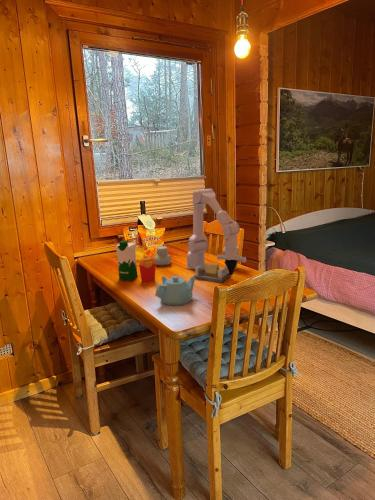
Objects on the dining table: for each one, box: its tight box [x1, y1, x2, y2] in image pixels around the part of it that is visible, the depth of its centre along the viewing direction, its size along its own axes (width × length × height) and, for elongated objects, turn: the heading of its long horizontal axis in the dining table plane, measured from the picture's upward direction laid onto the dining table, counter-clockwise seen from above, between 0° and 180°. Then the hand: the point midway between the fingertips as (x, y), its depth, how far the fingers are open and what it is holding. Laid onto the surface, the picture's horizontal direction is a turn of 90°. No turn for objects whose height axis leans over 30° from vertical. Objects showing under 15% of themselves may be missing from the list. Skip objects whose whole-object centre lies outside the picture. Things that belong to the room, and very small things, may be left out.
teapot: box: [154, 275, 196, 307], centre depth 157 cm, size 15×15×11 cm
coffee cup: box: [222, 245, 240, 271], centre depth 197 cm, size 8×8×12 cm
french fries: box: [138, 256, 157, 284], centre depth 182 cm, size 8×4×12 cm, turn 111°
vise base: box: [192, 262, 232, 284], centre depth 184 cm, size 16×11×6 cm
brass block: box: [205, 262, 220, 277], centre depth 184 cm, size 6×4×6 cm, turn 61°
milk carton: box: [115, 240, 138, 282], centre depth 186 cm, size 9×9×20 cm
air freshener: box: [154, 245, 172, 267], centre depth 209 cm, size 11×8×10 cm
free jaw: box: [218, 265, 229, 278], centre depth 181 cm, size 2×8×4 cm, turn 151°
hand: (231, 274), depth 179 cm, fingers closed
